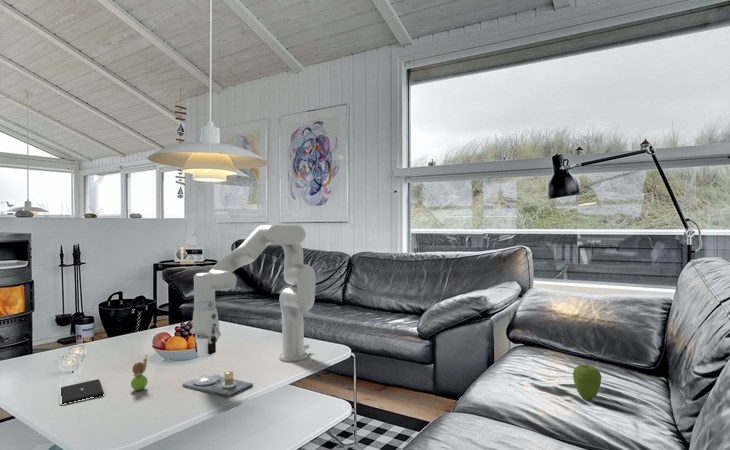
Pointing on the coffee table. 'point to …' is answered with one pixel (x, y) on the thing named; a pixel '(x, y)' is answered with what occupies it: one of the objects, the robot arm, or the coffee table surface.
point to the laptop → (81, 391)
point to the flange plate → (218, 384)
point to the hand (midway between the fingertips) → (205, 351)
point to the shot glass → (202, 346)
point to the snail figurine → (139, 375)
